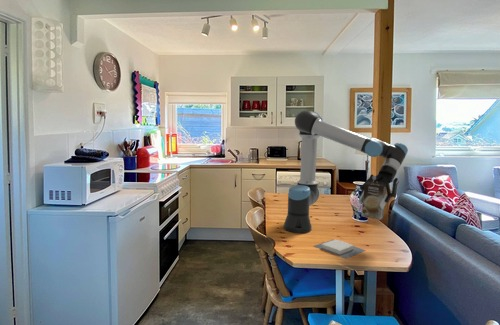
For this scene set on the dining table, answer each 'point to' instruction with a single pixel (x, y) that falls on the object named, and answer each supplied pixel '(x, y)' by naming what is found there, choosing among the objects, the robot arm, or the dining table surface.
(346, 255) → the mat
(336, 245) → the tile
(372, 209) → the coffee box
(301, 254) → the dining table surface
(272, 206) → the dining table surface
